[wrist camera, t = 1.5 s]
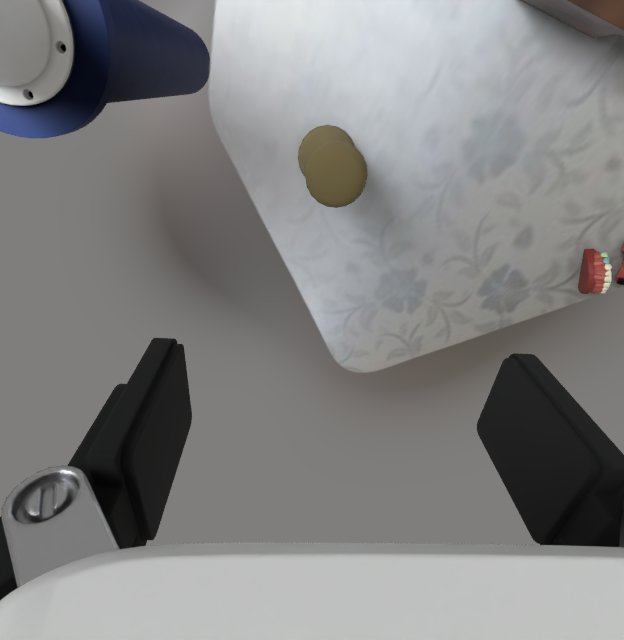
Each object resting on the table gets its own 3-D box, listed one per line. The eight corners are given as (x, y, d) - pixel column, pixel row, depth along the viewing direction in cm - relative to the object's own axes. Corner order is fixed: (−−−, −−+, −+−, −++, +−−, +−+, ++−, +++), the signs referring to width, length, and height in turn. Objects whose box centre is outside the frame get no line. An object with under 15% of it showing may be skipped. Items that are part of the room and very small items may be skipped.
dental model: (658, 291, 46) (588, 305, 46) (631, 276, 49) (567, 290, 50) (669, 247, 43) (595, 263, 44) (640, 235, 47) (572, 250, 47)
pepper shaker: (320, 111, 38) (330, 120, 28) (367, 149, 40) (391, 169, 31) (286, 164, 40) (285, 189, 31) (332, 198, 42) (344, 230, 33)
